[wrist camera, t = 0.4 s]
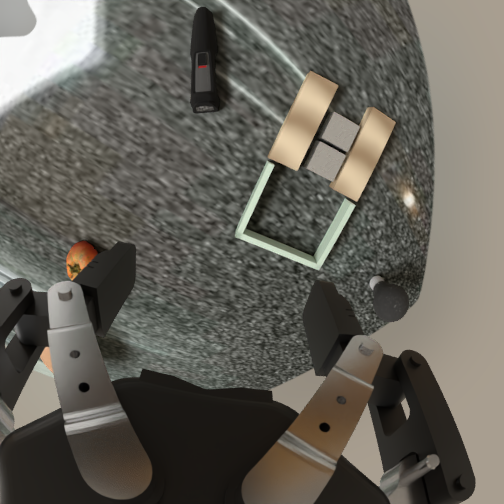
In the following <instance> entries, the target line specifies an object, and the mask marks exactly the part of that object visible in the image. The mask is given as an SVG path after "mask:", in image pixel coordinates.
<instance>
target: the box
mask: <svg viewBox="0 0 504 504" xmlns="http://www.w3.org/2000/svg"><path fill="white" fill-rule="evenodd" d="M273 168H274V164H273V163H272V162H270V161H267V162H266V165H265V167H264V169H263V171H262V173H261V175H260V178H259V180H258V182H257V184H256V186H255V188H254V191H253V193H252V195H251V197H250V199H249V202H248V204H247V206H246V208H245V210H244V213H243V215H242V217H241V219H240V222H239V224H238V226H237V228H236V231H235V237H237V238H239V239H242V240H244V241H247V242H249V243H252V244H254V245H257V246H259V247H262V248H264V249H267V250H269V251H272V252H274V253H277V254H279V255H282V256H284V257H287V258H289V259H292V260H294V261H297V262H299V263H302V264H304V265H307V266H309V267H312V268H314V269H317V270H319V269H320V268H321V266H322V264H323V263H324V261H325V259H326V257H327V256H328V254H329V252H330V251H331V249H332V247H333V245H334V244H335V242H336V240H337V238H338V237H339V235H340V233H341V231H342V229H343V228H344V226H345V224H346V222H347V220H348V218H349V217H350V215H351V213H352V211H353V209H354V207H355V206H356V205H354V204H353V203H352V202H350V201H349V200H347V199H344V201H343V203H342V205H341V207H340V209H339V211H338V213H337V214H336V216H335V218H334V220H333V222H332V224H331V225H330V227H329V229H328V231H327V233H326V235H325V236H324V238H323V240H322V242H321V244H320V245H319V247H318V249H317V251H316V252H315V254H314V256H311V255H309V254H306V253H304V252H302V251H299V250H297V249H294V248H292V247H290V246H287V245H285V244H282V243H280V242H277V241H275V240H273V239H270V238H268V237H265V236H263V235H260V234H258V233H256V232H253V231H251V230H248V229H246V226H247V223H248V221H249V219H250V217H251V215H252V213H253V210H254V208H255V206H256V204H257V202H258V200H259V197H260V195H261V193H262V191H263V189H264V187H265V185H266V182H267V180H268V178H269V176H270V174H271V172H272V170H273Z"/></svg>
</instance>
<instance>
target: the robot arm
mask: <svg viewBox="0 0 504 504" xmlns="http://www.w3.org/2000/svg"><path fill="white" fill-rule="evenodd" d="M135 277H136V247H135V245H134V244H129V243H124V242H117V243H116V244H115V246H114V247H113V248H112V249H111V250H110V251H109V250H105V251H103V252H101V253H99V254H97V255H96V256H95V257H94V258H93V259H92V260H91V262H89V263H88V264H87V266H86V267H84V269H83V270H82V271H81V272H80V273H79V274H78V275H77V276H76V277H75V278H74V279H73V280H72V281H64V282H59V283H57V284H55V285H53V286H52V287H51V288H50V289H49V291H48V292H34V291H32V287H31V283H30V282H29V281H28V280H26V279H23V278H17V279H13V280H10V281H8V282H7V283H6V284H5V285H4V286H3V287H2V288H1V289H0V504H459V503H461V502H463V501H465V500H466V499H468V498H469V497H470V496H471V495H472V494H473V492H474V489H475V476H474V473H473V470H472V467H471V464H470V461H469V458H468V455H467V452H466V449H465V446H464V444H463V441H462V438H461V436H460V433H459V431H458V428H457V426H456V423H455V421H454V418H453V416H452V414H451V411H450V409H449V407H448V404H447V402H446V400H445V398H444V396H443V393H442V391H441V389H440V387H439V385H438V383H437V381H436V379H435V377H434V375H433V373H432V371H431V369H430V367H429V365H428V363H427V361H426V360H425V358H424V357H423V356H422V355H421V354H419V353H418V352H415V351H413V350H405V351H403V352H402V353H401V355H400V356H399V358H396V357H392V356H389V355H385V354H383V350H382V347H381V346H380V344H379V343H378V342H377V341H375V340H374V339H372V338H370V337H368V336H365V335H364V333H363V331H362V329H361V326H360V324H359V322H358V320H357V318H356V317H355V314H354V312H353V311H352V308H351V306H350V304H349V302H348V301H347V300H346V299H345V298H344V297H343V296H342V295H339V294H338V292H337V290H336V287H335V285H334V283H332V282H327V281H321V280H316V281H315V283H314V285H313V287H312V290H311V293H310V295H309V298H308V300H307V303H306V305H305V308H304V312H303V323H304V327H305V331H306V335H307V339H308V344H309V348H310V352H311V357H312V361H313V365H314V370H315V374H316V376H326V379H325V380H324V382H323V383H322V384H321V386H320V387H319V389H318V390H317V391H316V393H315V394H314V396H313V397H312V398H311V400H310V401H309V402H308V404H307V405H306V407H305V408H304V409H303V410H302V412H301V413H300V414H299V413H297V412H296V411H295V410H293V409H291V408H290V407H288V406H286V405H284V404H282V403H279V402H276V401H273V398H272V391H267V390H257V389H248V388H227V389H204V388H201V387H198V386H196V385H193V384H191V383H189V382H186V381H184V380H182V379H179V378H177V377H175V376H171V375H167V374H162V373H158V372H154V371H150V370H146V369H142V372H141V375H140V377H131V378H123V379H118V380H114V381H112V382H111V380H110V377H109V374H108V372H107V369H106V366H105V363H104V361H103V358H102V355H101V352H100V349H99V346H98V343H97V339H96V336H95V335H98V336H101V337H105V335H106V333H107V331H108V330H109V328H110V326H111V324H112V323H113V321H114V319H115V317H116V316H117V314H118V312H119V310H120V309H121V307H122V305H123V304H124V302H125V300H126V299H127V297H128V295H129V294H130V292H131V290H132V289H133V286H134V283H135ZM13 328H14V330H15V332H16V334H15V335H14V337H13V338H12V340H11V341H10V343H9V344H8V346H7V347H6V349H5V341H6V338H7V336H8V335H9V334H10V332H11V331H12V329H13ZM45 347H49V349H50V356H51V362H52V368H53V374H54V379H55V384H56V388H57V393H58V397H59V401H60V405H61V408H59V409H57V410H55V411H53V412H52V413H49V414H47V415H46V416H43V417H41V418H39V419H37V420H35V421H33V422H31V423H29V424H27V425H25V426H23V427H21V428H19V429H16V430H15V429H14V416H13V413H12V411H13V408H14V406H15V404H16V402H17V400H18V398H19V396H20V394H21V391H22V389H23V387H24V385H25V383H26V381H27V380H28V378H29V376H30V374H31V372H32V370H33V368H34V366H35V365H36V363H37V361H38V359H39V357H40V356H41V354H42V352H43V350H44V349H45ZM405 398H406V400H407V402H408V405H409V408H410V415H409V418H408V420H407V419H406V416H405V413H404V410H403V407H402V405H401V402H402V401H403V400H404V399H405ZM367 403H368V406H369V410H370V414H371V418H372V422H373V425H374V430H375V434H376V438H377V442H378V447H379V451H380V455H381V460H382V464H383V470H384V474H383V476H382V478H381V481H380V486H379V487H378V486H377V485H376V484H374V483H373V482H372V481H371V480H369V479H368V478H367V477H366V476H365V475H364V474H363V473H362V472H360V471H359V470H358V469H357V468H356V467H355V466H353V465H352V464H351V463H350V462H349V461H348V460H347V459H346V458H345V457H344V456H343V455H341V454H342V452H343V450H344V448H345V447H346V445H347V443H348V441H349V439H350V437H351V435H352V433H353V432H354V430H355V428H356V425H357V424H358V422H359V420H360V418H361V415H362V413H363V411H364V409H365V407H366V405H367Z"/></svg>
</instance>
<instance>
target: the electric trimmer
mask: <svg viewBox="0 0 504 504" xmlns="http://www.w3.org/2000/svg"><path fill="white" fill-rule="evenodd" d="M217 51H218V49H217V41H216V34H215V27H214V20H213V15H212V13H211V12H210V11H209V10H208V9H207V8H206V7H200V8H198V9H197V11H196V13H195V16H194V21H193V30H192V39H191V52H190V55H191V60H192V74H191V101H190V103H191V107H192V108H193V112H194V113H206V112H216V111H218V106H219V104H220V101H219V97H218V95H217V88H216V76H215V57H216V54H217Z"/></svg>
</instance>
